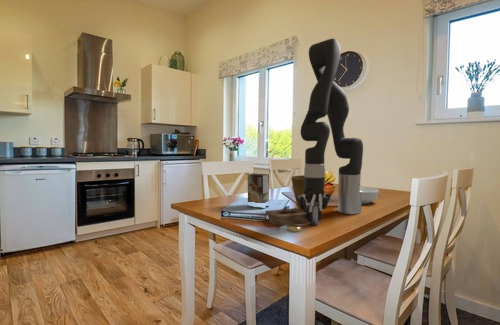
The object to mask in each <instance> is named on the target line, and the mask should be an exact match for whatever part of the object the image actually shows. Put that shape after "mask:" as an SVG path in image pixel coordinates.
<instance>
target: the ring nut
mask: <svg viewBox="0 0 500 325" xmlns="http://www.w3.org/2000/svg"><path fill="white" fill-rule="evenodd" d="M286 227H287V229H286V230H287V231H288V232H291V233H300V232H302V228H303V227H302V226H301V225H299V224H292V225H286Z"/></svg>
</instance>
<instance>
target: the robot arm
mask: <svg viewBox="0 0 500 325" xmlns="http://www.w3.org/2000/svg"><path fill="white" fill-rule="evenodd" d="M308 48H309V49H308V60H309V62H310V65H311V68H312V70H313V73H314V75H315V79H316V81H317V82H316V83H315V86H313V88H312V91H311V93H310V97H309V103H308V110H307V113H306V115H305V117H304V119H303V121H302V124H301V127H300V137H301V138H302V140H303V141H305V142H316V143H315V145H314V146H312V147H311V146H310V147H307V148H306V149H305V153H304V154H305V155H304V170H303V172H304V174H303V175H304V188H305V191H304V194H302V195H301V196H300V195H298V196H297V198H298V200H299V203H300V206H301V208H302V210H305V211H306V219H307V220H308V221H309V223H310V222H312V207H313V206H314V203H315V205H318V222H319V221H321V219H322V215H323V214H322V213H323V210H326V209H327V207H328V204H329V201H330V198H331V196H332V195H331V194H330V193H328V192H325V187H326V186H325V185H326V184H325V181H326V176H325V175H326V169H325V153H326V147H327V144H328V141H329V138H330V134H331V135H332V141H333V147H334V151H335V154H336V156H337V157H338V158H340V159H345V160H346V159H348V160H349V162H348V163H347V164H346V165H343V166H340V167H339V168H338V184H337V185H338V186H337V187H338V189H337V190H338V192H337V211H338V213H340V214H346V215H357V214H358V215H359V214H360V213H362V205H363V204H362V191H360V187H361V174H362V173H361V171H362V167H363V156H364V144H363V141H362V139H361V138H358V137H345V133H344V126H345V123H346V121H347V118H348V115H349V111H350V107H349V102H348V97H347V94H346V92H345V91H344V90H343V89H342V88H341V87H340V85H339V84H337V83H336V82H335V77H336V74H337V71H338V70H337V69H338V67H339V64H340V59H341V53H342V52H341V51H342V50H341V49H342V48H341V45H340V43H339V41H338V40H337V39H336V38H328V39H326V40H322V41H319V42H316V43H314V44H312V45H311V46H309V47H308ZM326 116H327V119H328V121H329V124H328V123H327V122H326V121H318V120H319V119H322V118H325V117H326ZM305 197H306V199H307V200H306V203H305Z"/></svg>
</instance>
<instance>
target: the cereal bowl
mask: <svg viewBox="0 0 500 325" xmlns="http://www.w3.org/2000/svg"><path fill="white" fill-rule="evenodd" d="M360 191H362V205H363V204H364V205H365V204H370V203H371V202H373V201H375V200H377V198H378V197H379V189H377V188H375V187H365V186H360Z"/></svg>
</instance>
